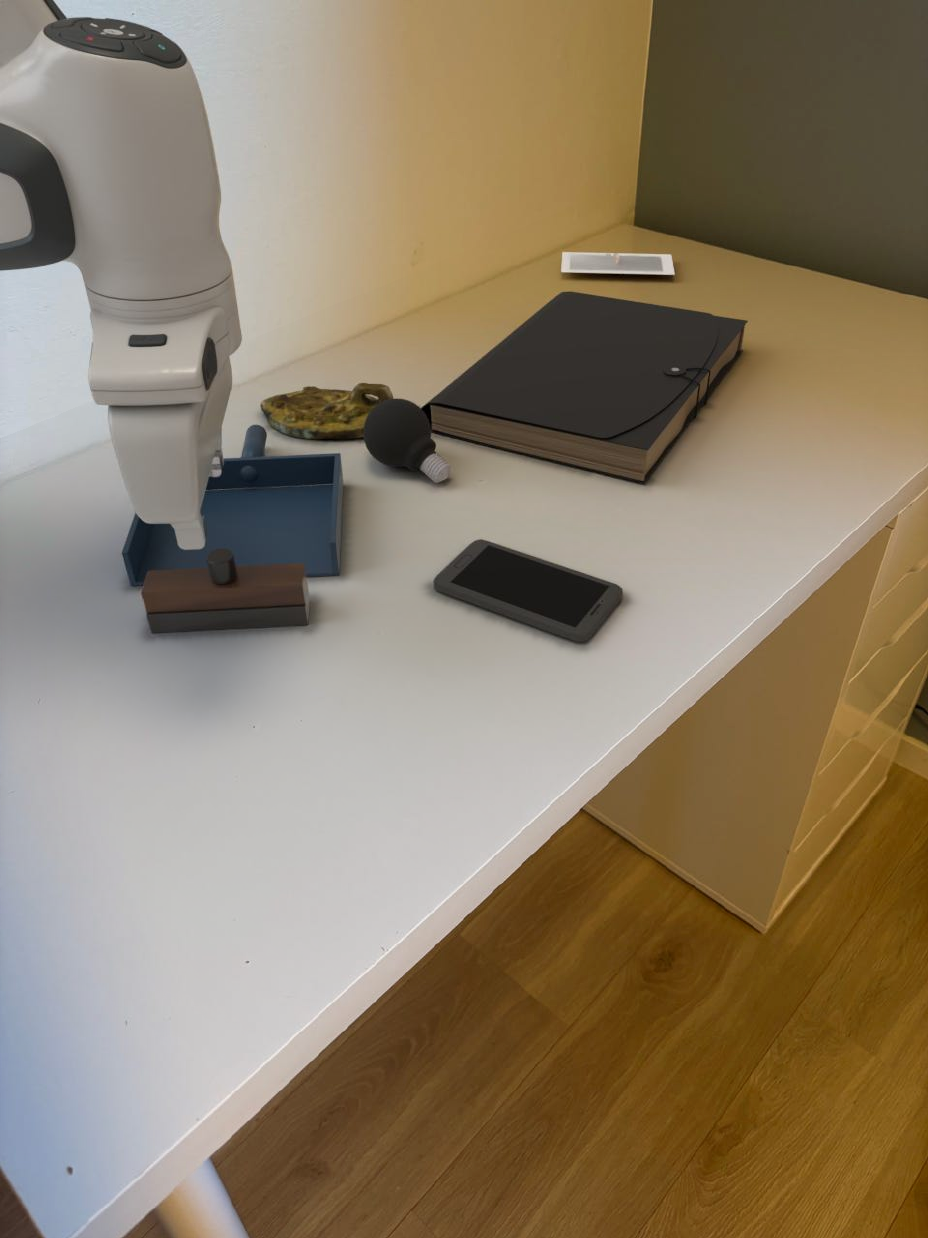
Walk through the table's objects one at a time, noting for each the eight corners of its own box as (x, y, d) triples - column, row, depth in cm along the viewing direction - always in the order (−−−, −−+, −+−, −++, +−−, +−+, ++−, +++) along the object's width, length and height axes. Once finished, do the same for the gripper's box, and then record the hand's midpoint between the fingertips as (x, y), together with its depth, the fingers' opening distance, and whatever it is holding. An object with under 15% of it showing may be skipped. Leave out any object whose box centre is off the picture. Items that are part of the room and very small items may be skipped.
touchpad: (673, 282, 132) (675, 266, 131) (560, 279, 133) (561, 263, 132) (670, 262, 138) (672, 246, 137) (562, 259, 139) (562, 244, 138)
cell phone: (476, 543, 85) (476, 536, 84) (626, 594, 79) (627, 586, 79) (429, 588, 80) (429, 580, 80) (585, 645, 74) (585, 638, 74)
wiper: (307, 625, 77) (299, 564, 73) (151, 633, 76) (134, 572, 73) (310, 599, 79) (301, 539, 76) (158, 607, 79) (142, 547, 75)
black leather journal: (650, 446, 90) (419, 395, 99) (646, 485, 92) (421, 433, 101) (750, 317, 112) (554, 286, 121) (744, 352, 115) (553, 318, 124)
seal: (248, 444, 101) (392, 452, 99) (239, 404, 98) (387, 412, 96) (274, 394, 108) (409, 400, 106) (266, 355, 104) (406, 361, 102)
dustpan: (339, 575, 82) (335, 542, 80) (130, 586, 81) (121, 552, 79) (345, 442, 99) (342, 412, 97) (173, 450, 99) (167, 419, 96)
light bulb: (439, 459, 88) (363, 390, 91) (412, 512, 92) (340, 445, 95) (481, 444, 93) (408, 379, 95) (454, 495, 97) (384, 431, 99)
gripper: (146, 263, 70) (181, 437, 79) (79, 392, 55) (131, 593, 63) (236, 261, 71) (260, 435, 80) (195, 389, 55) (231, 589, 64)
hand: (203, 506), depth 71 cm, fingers open, 8 cm apart
